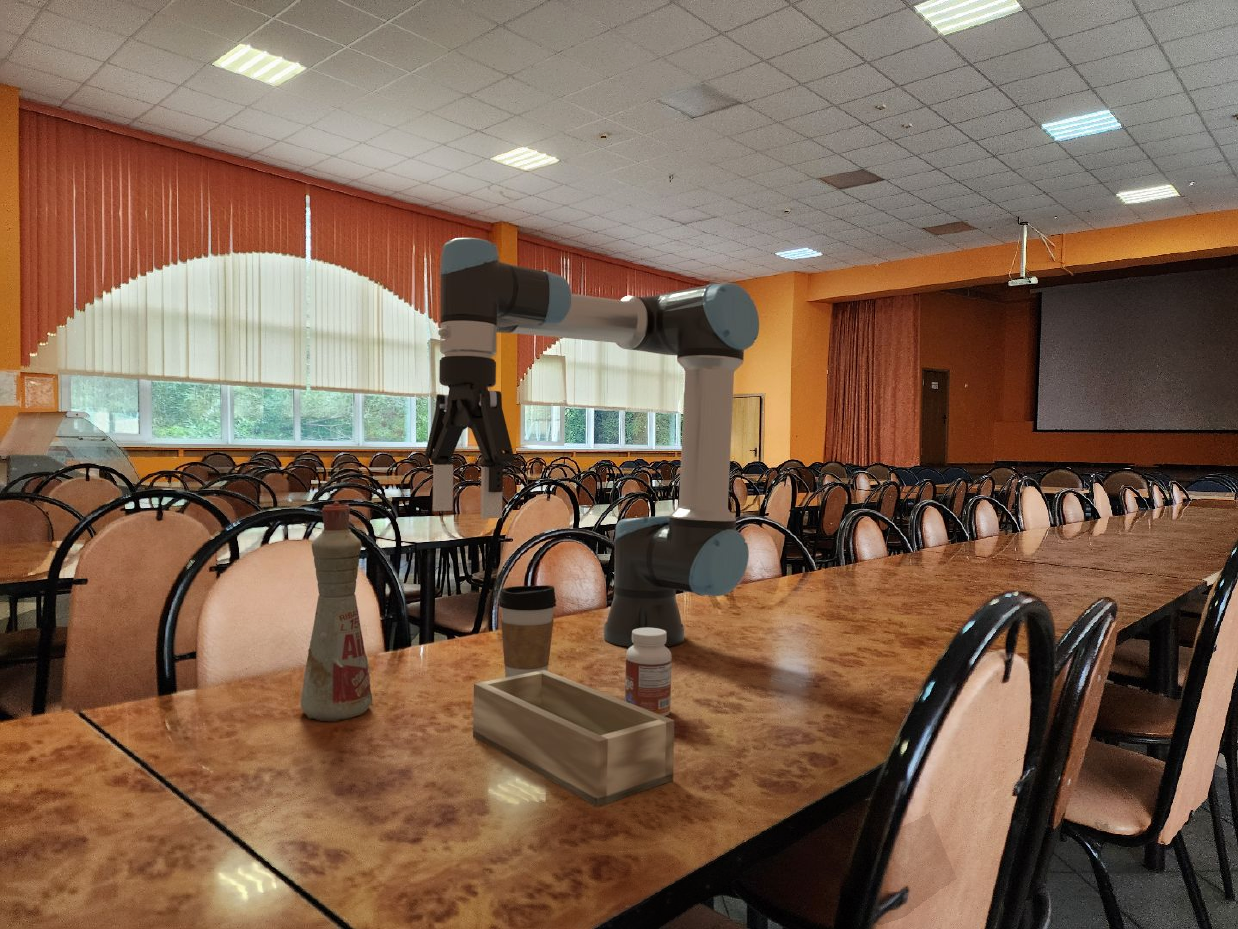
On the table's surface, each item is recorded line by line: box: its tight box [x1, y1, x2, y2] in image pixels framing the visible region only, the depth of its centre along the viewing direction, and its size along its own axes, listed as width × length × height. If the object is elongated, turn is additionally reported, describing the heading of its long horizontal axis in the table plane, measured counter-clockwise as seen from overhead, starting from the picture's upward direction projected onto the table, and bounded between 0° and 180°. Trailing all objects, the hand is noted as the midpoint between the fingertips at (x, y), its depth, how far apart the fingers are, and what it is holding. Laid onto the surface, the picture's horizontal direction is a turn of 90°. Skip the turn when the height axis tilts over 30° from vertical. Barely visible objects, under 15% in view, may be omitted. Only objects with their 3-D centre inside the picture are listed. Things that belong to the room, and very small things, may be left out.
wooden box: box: [472, 670, 675, 808], centre depth 92 cm, size 10×24×6 cm, turn 40°
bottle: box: [300, 500, 373, 723], centre depth 106 cm, size 9×9×28 cm
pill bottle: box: [624, 628, 672, 717], centre depth 108 cm, size 6×6×11 cm
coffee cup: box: [498, 584, 557, 678], centre depth 118 cm, size 8×8×15 cm
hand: (465, 514), depth 108 cm, fingers open, 13 cm apart
